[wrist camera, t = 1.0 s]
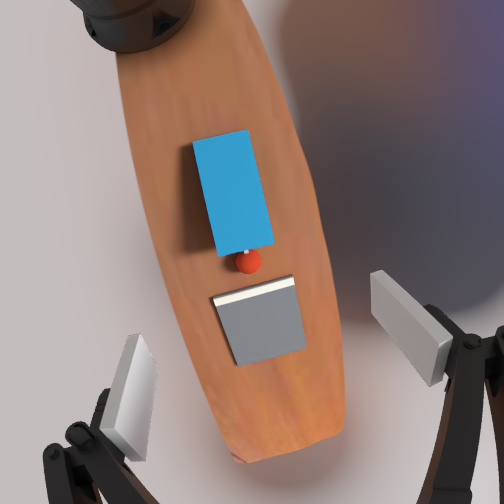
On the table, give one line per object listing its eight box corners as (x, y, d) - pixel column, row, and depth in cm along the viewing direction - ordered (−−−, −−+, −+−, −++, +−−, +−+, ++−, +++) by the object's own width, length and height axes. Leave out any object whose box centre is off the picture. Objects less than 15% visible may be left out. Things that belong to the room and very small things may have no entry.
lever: (198, 155, 42) (227, 277, 43) (192, 141, 35) (225, 286, 36) (245, 144, 42) (274, 265, 44) (247, 129, 35) (281, 273, 37)
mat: (212, 296, 44) (212, 298, 44) (291, 274, 45) (292, 276, 44) (238, 364, 49) (238, 366, 49) (306, 345, 50) (307, 347, 49)
